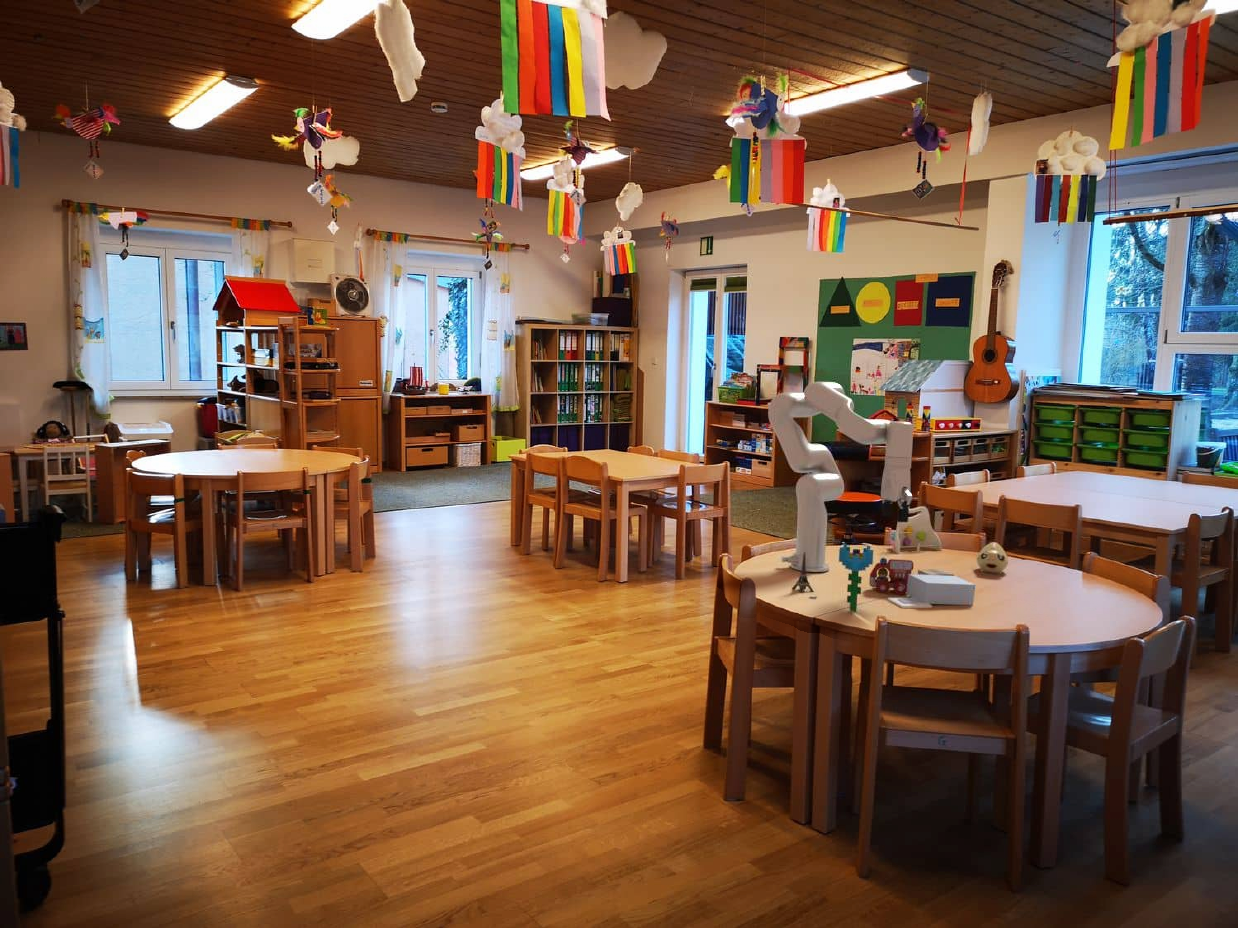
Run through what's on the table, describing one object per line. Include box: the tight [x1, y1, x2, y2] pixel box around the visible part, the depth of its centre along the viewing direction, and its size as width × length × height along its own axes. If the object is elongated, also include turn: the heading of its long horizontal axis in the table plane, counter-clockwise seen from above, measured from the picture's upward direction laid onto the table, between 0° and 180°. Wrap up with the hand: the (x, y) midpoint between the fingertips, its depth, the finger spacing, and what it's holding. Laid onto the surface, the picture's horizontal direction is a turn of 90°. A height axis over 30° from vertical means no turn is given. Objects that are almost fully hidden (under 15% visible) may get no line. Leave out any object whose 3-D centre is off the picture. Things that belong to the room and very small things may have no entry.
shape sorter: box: [890, 506, 942, 554], centre depth 325 cm, size 20×10×18 cm, turn 111°
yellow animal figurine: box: [976, 541, 1009, 574], centre depth 295 cm, size 10×12×11 cm
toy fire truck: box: [869, 557, 914, 596], centre depth 267 cm, size 7×12×10 cm, turn 75°
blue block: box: [906, 573, 976, 606], centre depth 258 cm, size 15×11×6 cm
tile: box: [887, 596, 933, 609], centre depth 253 cm, size 9×9×1 cm
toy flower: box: [838, 543, 874, 612], centre depth 244 cm, size 9×9×18 cm
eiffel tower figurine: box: [791, 552, 817, 600], centre depth 264 cm, size 15×10×13 cm
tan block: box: [917, 568, 955, 576], centre depth 270 cm, size 8×7×6 cm
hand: (894, 519), depth 265 cm, fingers open, 9 cm apart
